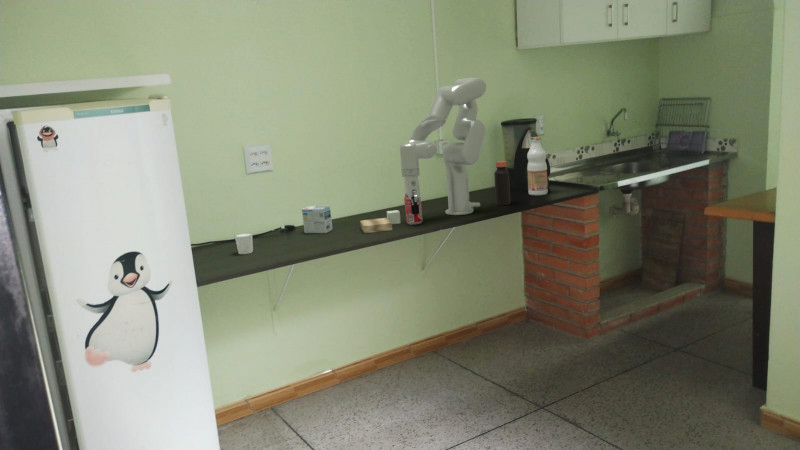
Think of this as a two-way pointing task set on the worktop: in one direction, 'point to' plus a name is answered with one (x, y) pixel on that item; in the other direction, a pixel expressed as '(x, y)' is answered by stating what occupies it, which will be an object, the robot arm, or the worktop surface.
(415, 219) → the soda can
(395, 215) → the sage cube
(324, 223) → the light bulb box
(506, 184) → the bottle
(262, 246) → the worktop surface
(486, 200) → the worktop surface
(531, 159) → the fruit juice
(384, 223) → the slab
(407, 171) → the robot arm
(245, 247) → the white cup
